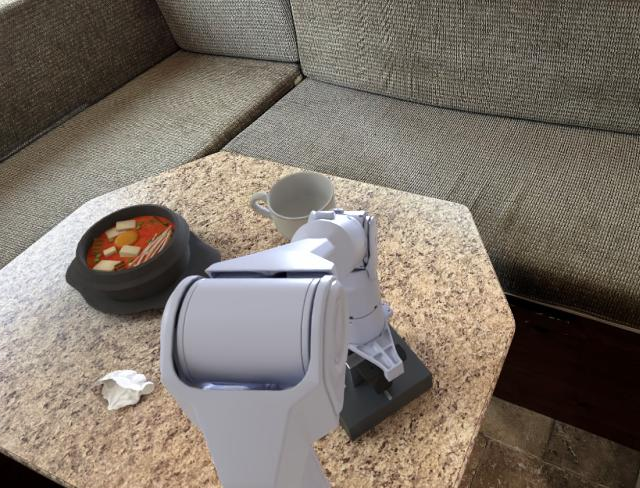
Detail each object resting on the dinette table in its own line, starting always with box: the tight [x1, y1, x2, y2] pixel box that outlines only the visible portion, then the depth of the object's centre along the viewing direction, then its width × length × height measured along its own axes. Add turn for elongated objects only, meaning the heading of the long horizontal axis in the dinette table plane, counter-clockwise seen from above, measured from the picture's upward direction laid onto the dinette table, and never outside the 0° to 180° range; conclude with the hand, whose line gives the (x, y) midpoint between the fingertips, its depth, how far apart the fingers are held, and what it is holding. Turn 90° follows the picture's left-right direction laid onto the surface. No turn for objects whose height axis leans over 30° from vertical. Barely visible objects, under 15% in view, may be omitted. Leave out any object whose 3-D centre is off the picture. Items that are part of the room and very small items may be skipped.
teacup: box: [249, 170, 338, 241], centre depth 98 cm, size 14×11×8 cm
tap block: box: [339, 320, 434, 442], centre depth 76 cm, size 12×10×3 cm
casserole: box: [64, 203, 222, 315], centre depth 93 cm, size 25×19×8 cm
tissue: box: [83, 369, 155, 411], centre depth 78 cm, size 6×8×4 cm
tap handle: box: [346, 353, 366, 387], centre depth 74 cm, size 6×2×4 cm, turn 124°
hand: (369, 368), depth 75 cm, fingers open, 6 cm apart
